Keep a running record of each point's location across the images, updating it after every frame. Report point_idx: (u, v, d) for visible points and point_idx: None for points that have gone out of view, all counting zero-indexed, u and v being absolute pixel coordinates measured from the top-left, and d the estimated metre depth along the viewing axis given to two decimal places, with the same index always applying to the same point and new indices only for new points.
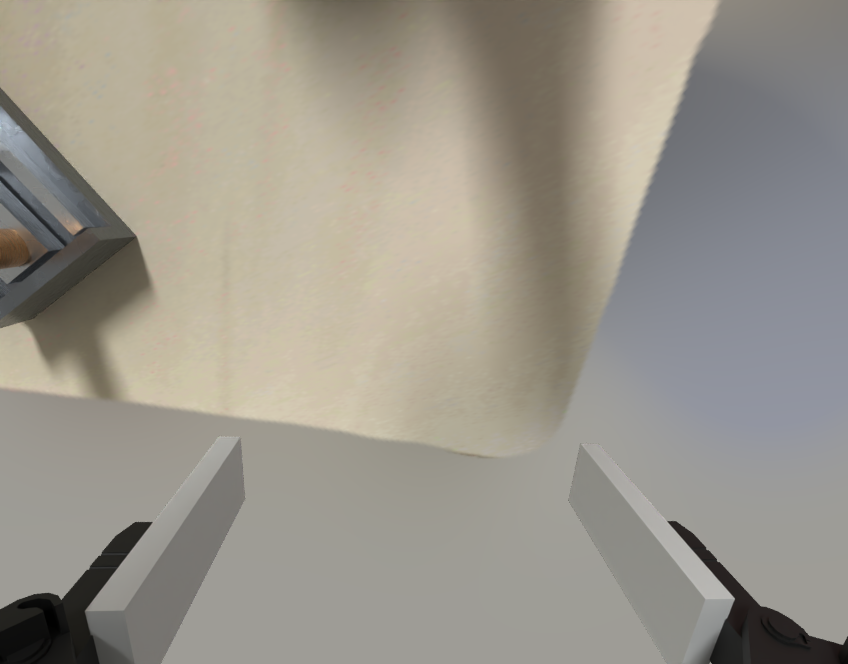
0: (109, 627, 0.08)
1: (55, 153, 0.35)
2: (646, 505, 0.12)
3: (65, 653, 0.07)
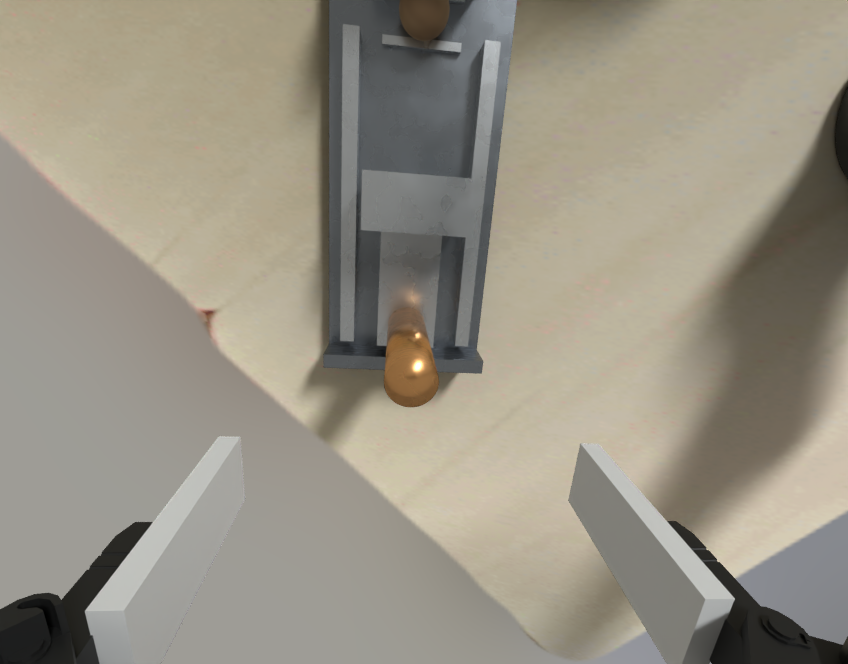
0: (109, 627, 0.08)
1: None
2: (646, 505, 0.12)
3: (65, 653, 0.07)
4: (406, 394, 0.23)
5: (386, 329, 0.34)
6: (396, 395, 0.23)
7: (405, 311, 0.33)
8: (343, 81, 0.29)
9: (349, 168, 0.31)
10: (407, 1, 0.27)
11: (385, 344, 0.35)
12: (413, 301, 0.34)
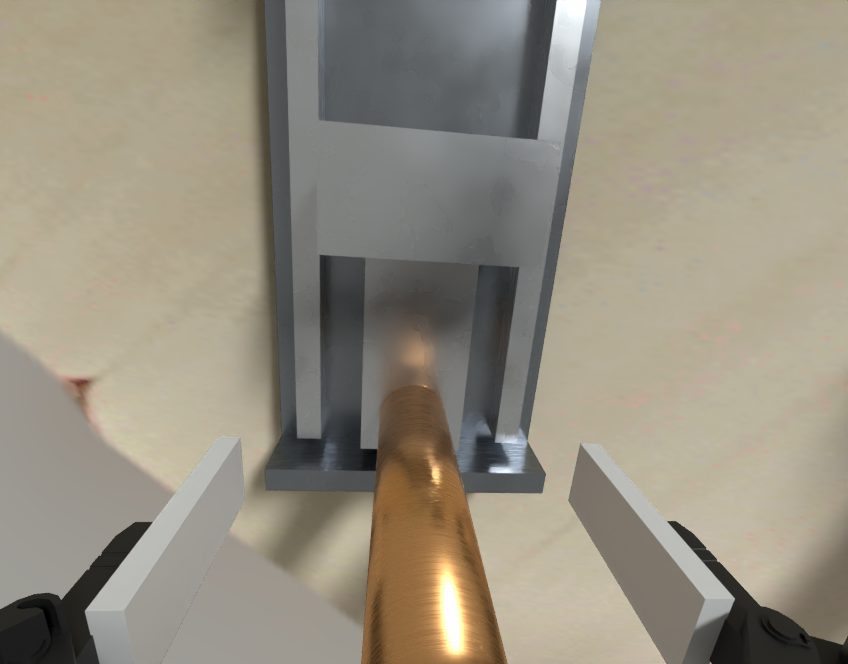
0: (109, 627, 0.08)
1: None
2: (646, 505, 0.12)
3: (65, 653, 0.07)
4: None
5: (377, 422, 0.19)
6: None
7: (411, 399, 0.18)
8: None
9: (304, 131, 0.16)
10: None
11: (375, 446, 0.20)
12: (426, 374, 0.19)
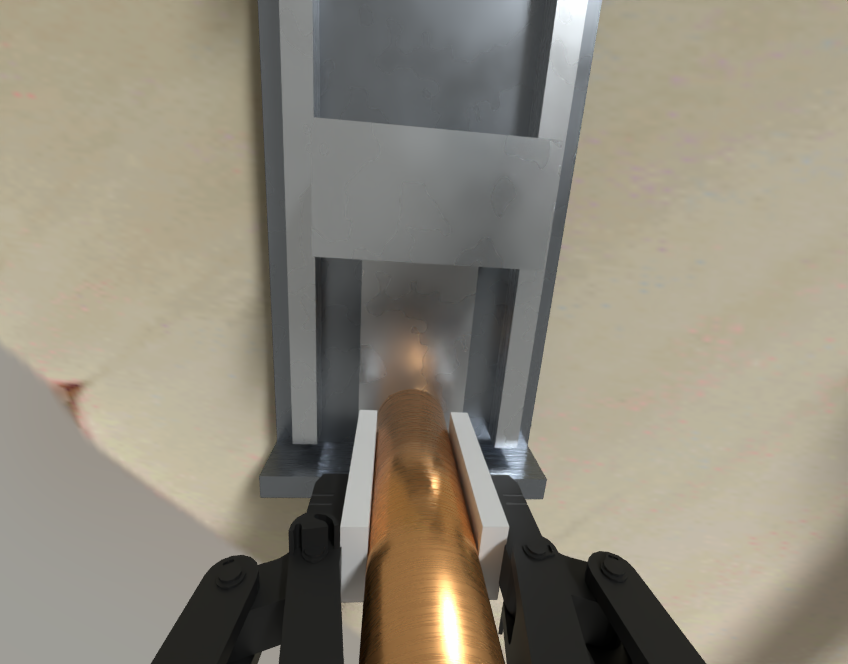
0: (354, 540, 0.11)
1: None
2: (478, 460, 0.14)
3: (335, 564, 0.10)
4: None
5: None
6: None
7: (409, 404, 0.17)
8: None
9: (298, 129, 0.16)
10: None
11: None
12: (424, 378, 0.18)
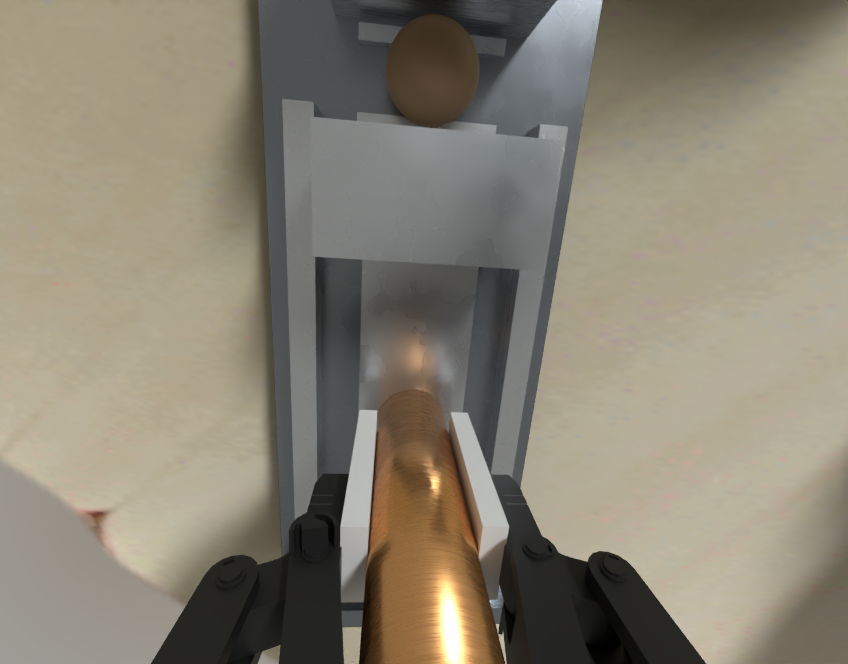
0: (355, 540, 0.11)
1: None
2: (478, 459, 0.14)
3: (335, 564, 0.10)
4: None
5: None
6: None
7: (409, 404, 0.17)
8: (287, 196, 0.16)
9: (303, 334, 0.18)
10: (400, 63, 0.14)
11: None
12: (424, 378, 0.18)
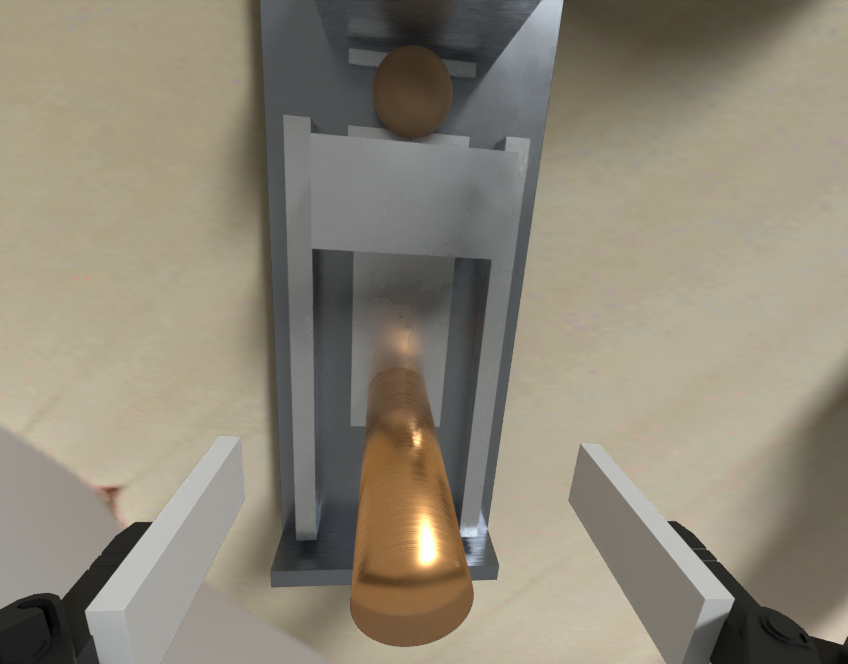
0: (109, 627, 0.08)
1: None
2: (646, 505, 0.12)
3: (65, 653, 0.07)
4: (400, 625, 0.10)
5: (365, 401, 0.22)
6: (379, 628, 0.10)
7: (395, 379, 0.20)
8: (287, 199, 0.19)
9: (301, 320, 0.21)
10: (384, 86, 0.16)
11: (364, 424, 0.22)
12: (409, 358, 0.21)
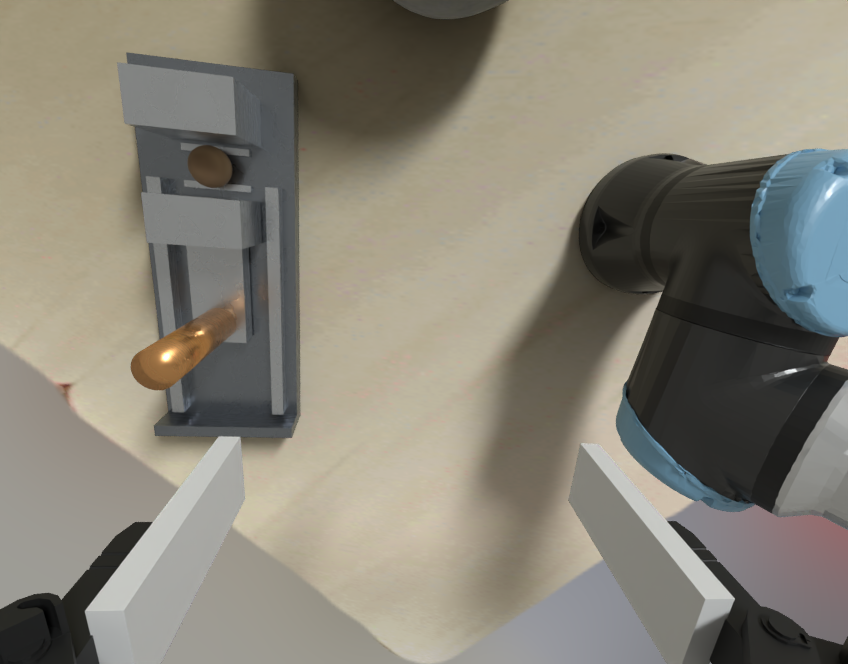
0: (109, 627, 0.08)
1: (298, 349, 0.45)
2: (646, 505, 0.12)
3: (65, 653, 0.07)
4: (152, 380, 0.29)
5: None
6: (144, 380, 0.28)
7: (209, 311, 0.38)
8: None
9: (164, 281, 0.39)
10: (189, 165, 0.35)
11: None
12: (223, 302, 0.39)
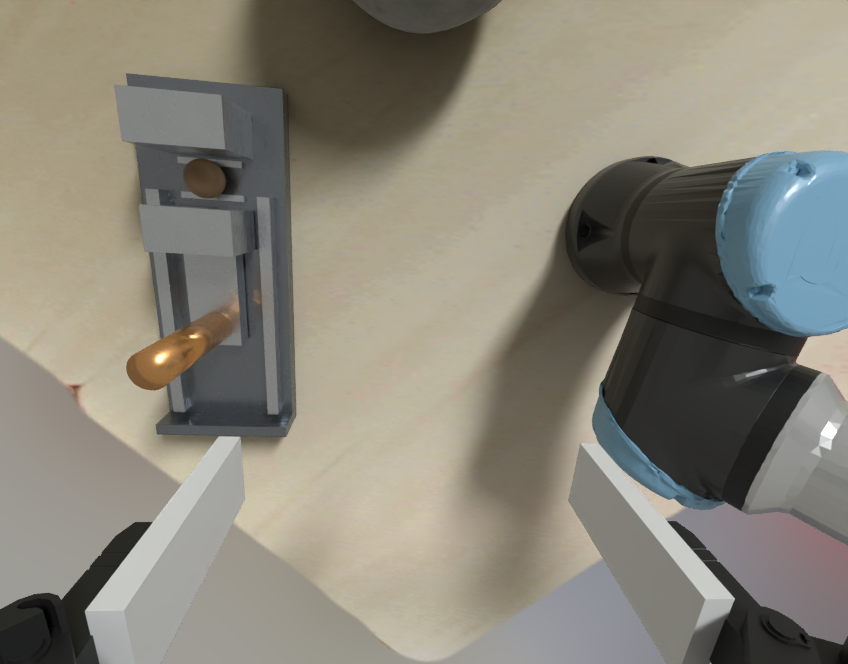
0: (109, 627, 0.08)
1: (293, 352, 0.47)
2: (646, 505, 0.12)
3: (65, 653, 0.07)
4: (146, 380, 0.30)
5: None
6: (139, 381, 0.30)
7: (205, 315, 0.40)
8: None
9: (163, 287, 0.41)
10: (184, 178, 0.37)
11: None
12: (219, 307, 0.41)
